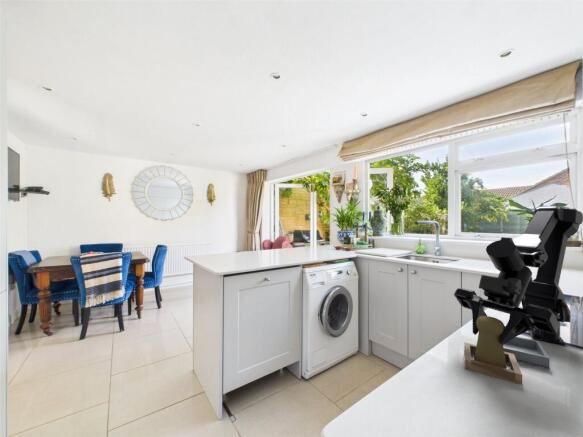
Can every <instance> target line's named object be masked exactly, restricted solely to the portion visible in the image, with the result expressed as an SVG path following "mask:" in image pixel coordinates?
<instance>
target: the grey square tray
mask: <svg viewBox="0 0 583 437" xmlns="http://www.w3.org/2000/svg"><path fill="white" fill-rule="evenodd" d="M503 347H504V352H508V353H512V354H514V355H515V358H516V360H517V363H523V364H526V365H530V366H535V367H539V368H543V369H548V370H550V364H551V362H550V361H551V360H550V358H551V357H550V356H549V355H548V353H547V352H546V350H545V349H544V347H543V345H542V344H541V343H540V340H538V339H533V338H531V339H530V338H527V337H521V336H516V337H515V338H513V339H512V340H510V341H508V342H507V343H505V344H504V345H503Z"/></svg>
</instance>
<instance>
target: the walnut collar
mask: <svg viewBox="0 0 583 437" xmlns="http://www.w3.org/2000/svg"><path fill="white" fill-rule="evenodd" d="M476 346H477V344H472V343H468V342H464V347H463V348H464V349H463V350H464V369H465V370H469V371H471V372H475V373H478V374H481V375H486V376H489V377H493V378H496V379H500V380H504V381H507V382H509V383H514V384H518V385H521V386H522V385H523V373H522V371H521V369H520V366H519V362H517V360H516V358H515V355H514V354H512V353H508V352H504V354H505V360H506V364H508V367H509V368H507V369H506V368H503V367H499V366H495V365H491V364H487V363H483V362H479V361H475V360H474V359H472V358H471V355H474V356H475V352H476Z"/></svg>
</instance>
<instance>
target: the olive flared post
mask: <svg viewBox="0 0 583 437" xmlns="http://www.w3.org/2000/svg"><path fill="white" fill-rule="evenodd" d="M476 325H477V328H478V329H479V332H478V333H477V335H478V336H477V341H476V345H477V346H476V352H475V355H474V358H473V360H475V361H479V362H483V363H487V364H491V365H495V366H499V367H503V368H506V369H508V368H507V363H506V360H505V354H504V347H503V345H501V344H500V342H499V341H500V337H501V335H502V333H503V331H504V329H505V327H506V325H505V324H504V322H503V321H502V320H501V319H499V318H497V317H493V316H488V315H487V316H480V317H478V318H477V321H476Z"/></svg>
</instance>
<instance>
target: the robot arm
mask: <svg viewBox="0 0 583 437" xmlns="http://www.w3.org/2000/svg"><path fill="white" fill-rule="evenodd" d="M582 224H583V212H581V211H580V210H578V209H576V208H564V207H561V206H556V205H555V206H539V207H537V208H535V211H534V216H533V217H532V219H531V220H530V222H529V223H528V226H526V228H525V230H524V232H523V233H522V234H521V236H518V237H515V238H512V237H503V236H502V237H501V238H500V239H499V240H495V241H493V242H491V243H490V244H488V245H487V246H486V248H485V252H486V254H487V255H488V257H489V259H490V260H491V263H492V265H493V266H494V268H495V269H496V270H498V271H499V274H498V275H497V276H491V275H485V274H481V277H480V280H479V282H478V289H480V290H483V295H484V296H485V297H487V298H483V297H481V296H479V295H477V293H476V291H475V290H473V289H468V288H464V287H463V288H462V287H458V288H457V289H456V290H455V291H454V293H453V296H454V297H455V299H456V300H457V301H458V303H459V304H460V306H461V307H463V308H464V309H469V310H471V312H472V314H471V315H472V334H474V335H475V336H476V335H478V334H479V329H478V328H477V325H476V321H477V318H478V317H480V316H488V314H487V312H486V311H485V309H486V308H487V309H490V310H494V311H498V312H501V313H503V314H504V313H505V314H508V315H509V316H508V321H507V323H506V325H505V329H504V331H503V333H502V335H501V337H500V341H499V342H500V344H501V345H504V344H505V343H507V342H508V341H510V340H512V339H513V338H515V337H516V336H517V337H519V336H520V335H522V334H524V333H527V332H528V333H529V335H530V337H531V339H533V340H537V341H544V342H549V343H555V344H558V345H566V341H565V340H564V339H563V338H562V337H561V323H562V324H563V323H571V322H572V318H571V317H572V315H571V310H570V307H569V305H568V304H567V302H566V300H565V298H566V297H565V294H564V293H563V292H564V291H562V289H561V287H560V286H559V285H560V279H561V274H562V269H563V264H564V261H565V254H566V251H567V250H566V249H567V244H568V240H569V238H572V236H574V235H575V234H576V233H577V232H578V231H579V229H580V225H582ZM530 267H531V268H537V271H536V277H535V278H534V279H533V277H532V276H533V272H532V270H531V269H530ZM520 305H522V306H521V307H520Z"/></svg>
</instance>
